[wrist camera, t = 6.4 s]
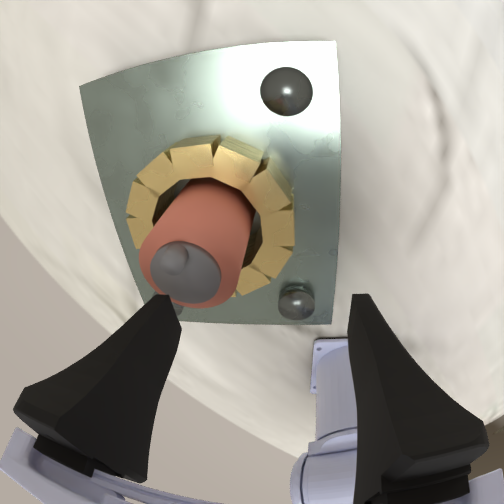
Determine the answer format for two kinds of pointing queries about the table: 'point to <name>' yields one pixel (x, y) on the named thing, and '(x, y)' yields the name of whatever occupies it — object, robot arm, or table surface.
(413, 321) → the table surface
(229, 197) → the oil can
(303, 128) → the metal plate with ring
